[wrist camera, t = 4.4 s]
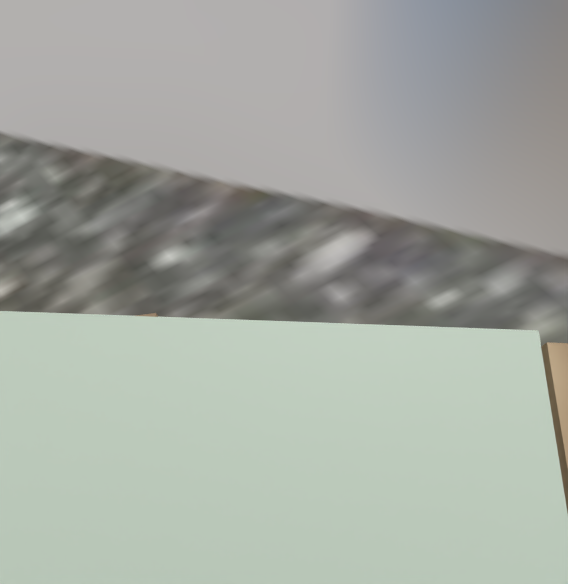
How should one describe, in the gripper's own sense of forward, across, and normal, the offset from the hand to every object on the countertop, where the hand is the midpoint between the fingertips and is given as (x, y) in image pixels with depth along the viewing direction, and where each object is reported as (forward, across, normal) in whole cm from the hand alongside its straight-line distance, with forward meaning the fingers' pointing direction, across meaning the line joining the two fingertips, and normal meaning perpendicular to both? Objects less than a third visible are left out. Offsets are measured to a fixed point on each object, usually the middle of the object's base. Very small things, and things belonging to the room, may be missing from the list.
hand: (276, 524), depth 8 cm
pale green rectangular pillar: (+6, 0, +5) cm, 8 cm away
